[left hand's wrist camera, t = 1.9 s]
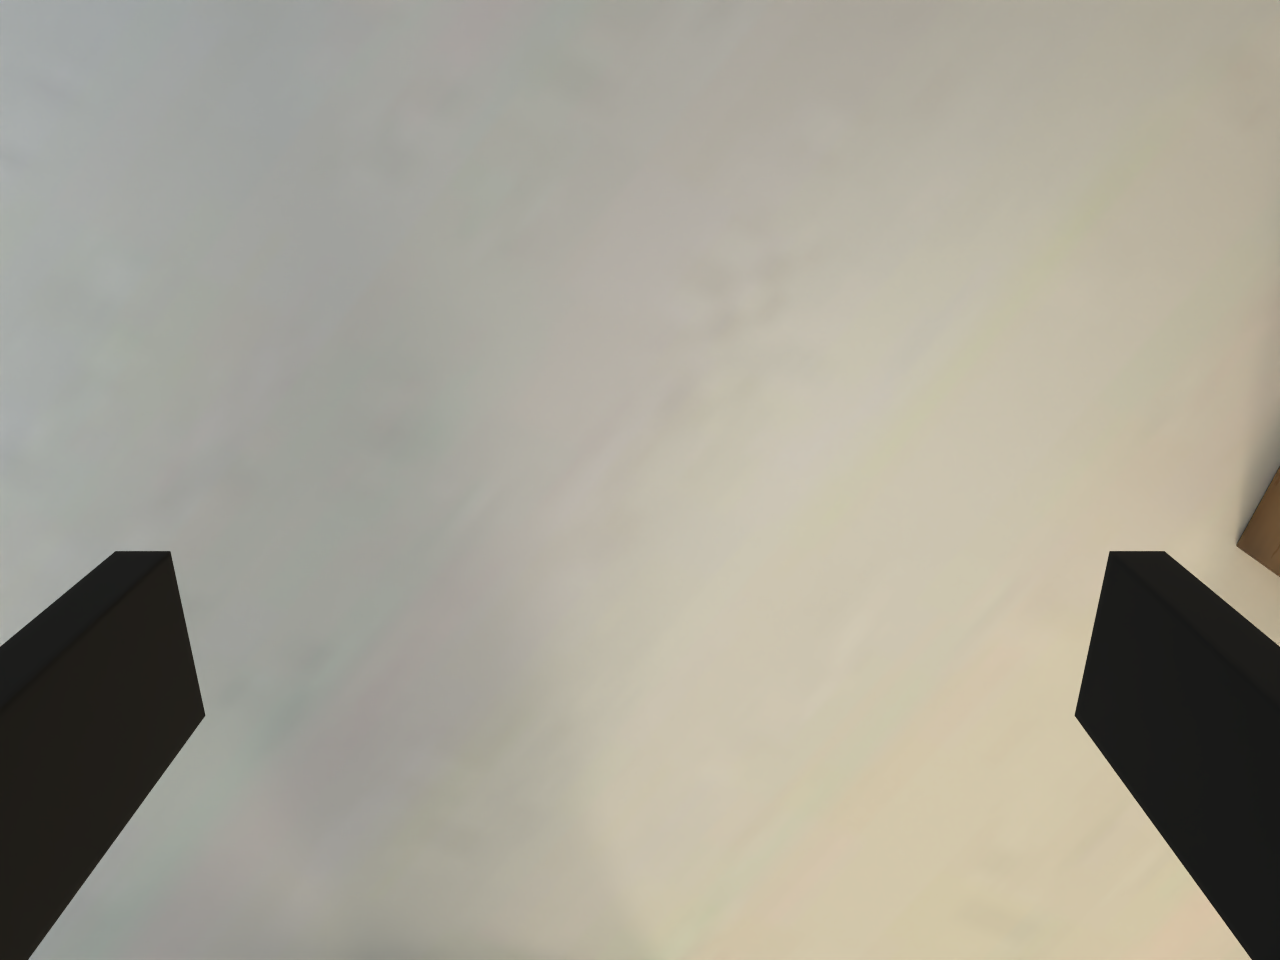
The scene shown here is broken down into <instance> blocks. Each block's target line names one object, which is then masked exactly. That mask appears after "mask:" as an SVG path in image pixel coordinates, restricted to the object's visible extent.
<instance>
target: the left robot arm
mask: <svg viewBox="0 0 1280 960" xmlns="http://www.w3.org/2000/svg"><path fill="white" fill-rule="evenodd" d="M204 717H205V712H204V707H203V702H202V698H201V693H200V688H199V684H198V679H197V674H196V669H195V665H194V660H193V655H192V651H191V646H190V641H189V637H188V632H187V627H186V622H185V618H184V613H183V608H182V604H181V599H180V594H179V590H178V585H177V580H176V576H175V571H174V566H173V561H172V557H171V552H170V551H115V552H114V553H113V554H112V555H110V556H109V557H108V558H107V559H106V560H104V561H103V562H102V563H101V564H100V565H98V566H97V567H96V568H95V569H94V570H92V571H91V572H90V573H89V574H88V575H86V576H85V577H84V578H83V579H81V580H80V581H79V582H78V583H77V584H75V585H74V586H73V587H72V588H71V589H69V590H68V591H67V592H66V593H65V594H63V595H62V596H61V597H60V598H59V599H57V600H56V601H55V602H54V603H53V604H51V605H50V606H49V607H48V608H46V609H45V610H44V611H43V612H42V613H40V614H39V615H38V616H37V617H36V618H34V619H33V620H32V621H31V622H30V623H28V624H27V625H26V626H25V627H24V628H22V629H21V630H20V631H19V632H17V633H16V634H15V635H14V636H13V637H11V638H10V639H9V640H8V641H7V642H5V643H4V644H3V645H2V646H1V647H0V960H28V959H29V958H30V956H31V955H32V954H33V952H34V951H35V949H36V948H37V947H38V945H39V944H40V943H41V941H42V940H43V938H44V937H45V936H46V934H47V933H48V932H49V930H50V929H51V927H52V926H53V925H54V923H55V922H56V921H57V919H58V918H59V916H60V915H61V914H62V912H63V911H64V910H65V908H66V907H67V905H68V904H69V903H70V901H71V900H72V899H73V897H74V896H75V894H76V893H77V892H78V890H79V889H80V887H81V886H82V885H83V883H84V882H85V881H86V879H87V878H88V876H89V875H90V874H91V872H92V871H93V870H94V868H95V867H96V865H97V864H98V863H99V861H100V860H101V859H102V857H103V856H104V854H105V853H106V852H107V850H108V849H109V848H110V846H111V845H112V843H113V842H114V841H115V839H116V838H117V837H118V835H119V834H120V832H121V831H122V830H123V828H124V827H125V826H126V824H127V823H128V821H129V820H130V819H131V817H132V816H133V815H134V813H135V812H136V810H137V809H138V808H139V806H140V805H141V803H142V802H143V801H144V799H145V798H146V797H147V795H148V794H149V792H150V791H151V790H152V788H153V787H154V786H155V784H156V783H157V781H158V780H159V779H160V777H161V776H162V775H163V773H164V772H165V770H166V769H167V768H168V766H169V765H170V764H171V762H172V761H173V759H174V758H175V757H176V755H177V754H178V753H179V751H180V750H181V748H182V747H183V746H184V744H185V743H186V742H187V740H188V739H189V737H190V736H191V735H192V733H193V732H194V730H195V729H196V728H197V726H198V725H199V724H200V722H201V721H202V719H203V718H204ZM1075 717H1076V718H1077V719H1078V721H1079V722H1080V724H1081V725H1082V726H1083V728H1084V729H1085V730H1086V732H1087V733H1088V735H1089V736H1090V737H1091V739H1092V740H1093V742H1094V743H1095V744H1096V746H1097V747H1098V748H1099V750H1100V751H1101V753H1102V754H1103V755H1104V757H1105V758H1106V759H1107V761H1108V762H1109V764H1110V765H1111V766H1112V768H1113V769H1114V770H1115V772H1116V773H1117V775H1118V776H1119V777H1120V779H1121V780H1122V781H1123V783H1124V784H1125V786H1126V787H1127V788H1128V790H1129V791H1130V792H1131V794H1132V795H1133V797H1134V798H1135V799H1136V801H1137V802H1138V803H1139V805H1140V806H1141V808H1142V809H1143V810H1144V812H1145V813H1146V815H1147V816H1148V817H1149V819H1150V820H1151V821H1152V823H1153V824H1154V826H1155V827H1156V828H1157V830H1158V831H1159V832H1160V834H1161V835H1162V837H1163V838H1164V839H1165V841H1166V842H1167V843H1168V845H1169V846H1170V848H1171V849H1172V850H1173V852H1174V853H1175V854H1176V856H1177V857H1178V859H1179V860H1180V861H1181V863H1182V864H1183V865H1184V867H1185V868H1186V870H1187V871H1188V872H1189V874H1190V875H1191V876H1192V878H1193V879H1194V881H1195V882H1196V883H1197V885H1198V886H1199V887H1200V889H1201V890H1202V892H1203V893H1204V894H1205V896H1206V897H1207V899H1208V900H1209V901H1210V903H1211V904H1212V905H1213V907H1214V908H1215V910H1216V911H1217V912H1218V914H1219V915H1220V916H1221V918H1222V919H1223V921H1224V922H1225V923H1226V925H1227V926H1228V927H1229V929H1230V930H1231V932H1232V933H1233V934H1234V936H1235V937H1236V938H1237V940H1238V941H1239V943H1240V944H1241V945H1242V947H1243V948H1244V949H1245V951H1246V952H1247V954H1248V955H1249V956H1250V958H1251V959H1252V960H1280V647H1279V646H1278V645H1277V644H1276V643H1275V642H1273V641H1272V640H1271V639H1270V638H1269V637H1267V636H1266V635H1265V634H1264V633H1263V632H1261V631H1260V630H1259V629H1258V628H1256V627H1255V626H1254V625H1253V624H1252V623H1250V622H1249V621H1248V620H1247V619H1246V618H1244V617H1243V616H1242V615H1241V614H1240V613H1238V612H1237V611H1236V610H1235V609H1234V608H1232V607H1231V606H1230V605H1229V604H1227V603H1226V602H1225V601H1224V600H1223V599H1221V598H1220V597H1219V596H1218V595H1217V594H1215V593H1214V592H1213V591H1212V590H1211V589H1209V588H1208V587H1207V586H1206V585H1205V584H1203V583H1202V582H1201V581H1200V580H1199V579H1197V578H1196V577H1195V576H1194V575H1192V574H1191V573H1190V572H1189V571H1188V570H1186V569H1185V568H1184V567H1183V566H1182V565H1180V564H1179V563H1178V562H1177V561H1176V560H1174V559H1173V558H1172V557H1171V556H1170V555H1168V554H1167V553H1166V552H1165V551H1110V552H1109V557H1108V561H1107V566H1106V571H1105V576H1104V580H1103V585H1102V590H1101V594H1100V599H1099V604H1098V608H1097V613H1096V618H1095V622H1094V627H1093V632H1092V637H1091V641H1090V646H1089V651H1088V655H1087V660H1086V665H1085V669H1084V674H1083V679H1082V684H1081V688H1080V693H1079V698H1078V702H1077V707H1076V712H1075Z"/></svg>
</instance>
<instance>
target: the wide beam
mask: <svg viewBox="0 0 1280 960" xmlns="http://www.w3.org/2000/svg"><path fill="white" fill-rule="evenodd" d="M1237 547H1238V548H1240V549H1241V550H1243V551H1244V552H1245V553H1247V554H1248V555H1250V556H1251V557H1252V558H1254V559H1255V560H1257V561H1258V562H1259V563H1261V564H1262V565H1264V566H1265V567H1266V568H1268V569H1269V570H1271V571H1272V572H1273V573H1275V574H1276V575H1278V576H1279V577H1280V467H1279V469H1278V471H1277V473H1276V475H1275V476H1274V478H1273V480H1272V482H1271V484H1270V485H1269V487H1268V489H1267V491H1266V493H1265V495H1264V496H1263V498H1262V500H1261V502H1260V504H1259V505H1258V507H1257V509H1256V511H1255V513H1254V514H1253V516H1252V518H1251V520H1250V522H1249V524H1248V525H1247V527H1246V529H1245V531H1244V533H1243V534H1242V536H1241V538H1240V540H1239V542H1238V543H1237Z"/></svg>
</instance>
